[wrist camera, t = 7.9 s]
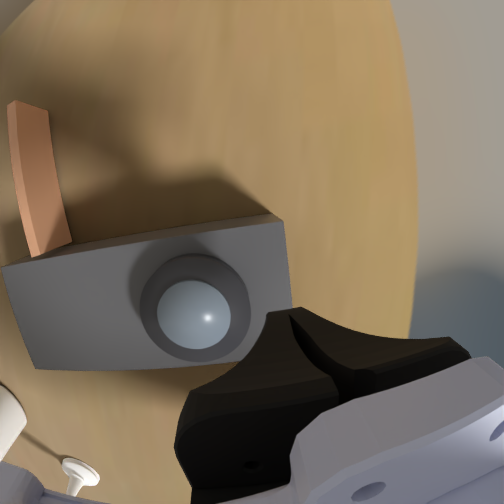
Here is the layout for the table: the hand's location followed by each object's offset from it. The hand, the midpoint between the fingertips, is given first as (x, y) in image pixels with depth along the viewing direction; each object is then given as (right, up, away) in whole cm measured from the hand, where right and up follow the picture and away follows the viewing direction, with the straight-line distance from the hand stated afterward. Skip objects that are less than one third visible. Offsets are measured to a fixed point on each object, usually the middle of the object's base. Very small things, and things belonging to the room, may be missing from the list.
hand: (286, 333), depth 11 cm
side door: (-16, +8, +7) cm, 19 cm away
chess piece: (-21, -23, +13) cm, 34 cm away
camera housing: (-8, +1, +9) cm, 12 cm away
